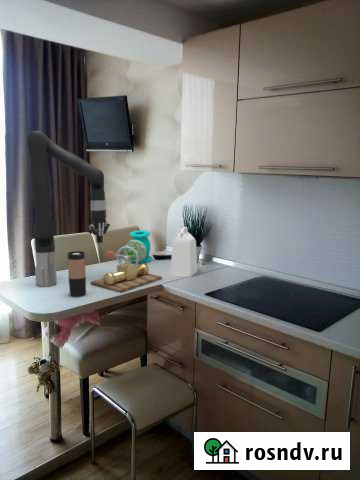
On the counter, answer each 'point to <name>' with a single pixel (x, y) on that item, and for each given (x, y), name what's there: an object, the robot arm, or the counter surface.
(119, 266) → the brass valve
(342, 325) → the counter surface
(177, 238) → the milk
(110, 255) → the valve lever
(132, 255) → the valve
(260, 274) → the counter surface
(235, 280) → the counter surface
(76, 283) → the travel mug
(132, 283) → the mounting board
